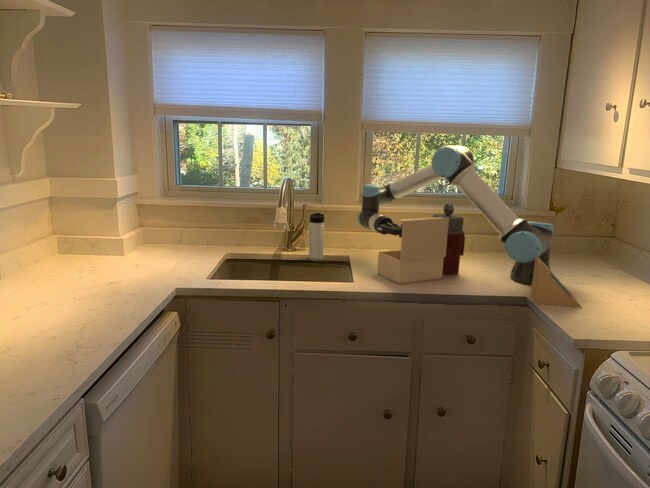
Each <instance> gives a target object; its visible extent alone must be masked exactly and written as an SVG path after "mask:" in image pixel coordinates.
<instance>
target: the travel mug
mask: <svg viewBox="0 0 650 488" xmlns="http://www.w3.org/2000/svg"><path fill="white" fill-rule="evenodd" d="M308 237H309V238H308V239H309V241H308V244H309V245H308V259H309V260H310V261H312V262H321V261H324V247H325V246H324V245H325V244H324V243H325V242H324V241H325V240H324V239H325V215H324V214H323V213H320V212H316V213H311V214H310V215H309V236H308Z"/></svg>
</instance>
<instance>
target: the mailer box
mask: <svg viewBox="0 0 650 488" xmlns="http://www.w3.org/2000/svg"><path fill="white" fill-rule="evenodd" d="M400 255H401V249H397V250H396V249H395V250H386V251H378V258H377V259H378V260H377V273H376V274H377V275H378V276H381V277H382V278H384V279H386V280H389V281H391V282H393V283H394V284H396V285H399V286H400V285H401V286H402V285H408V284H416V283H424V282H432V281H440V280H442V279H443V275H442V272H443V260H444V257H437V258H428V259H418V260H409V261H400Z"/></svg>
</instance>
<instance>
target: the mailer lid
mask: <svg viewBox="0 0 650 488" xmlns="http://www.w3.org/2000/svg"><path fill="white" fill-rule="evenodd" d="M397 221H398V222H401V223H402V224H403V225H402V237H401V242H400V243H401V245H400V250H401V255H400V261H409V260H418V259H428V258H437V257H446V247H447V235H448V224H449V218H442V217H434V218H433V217H423V218H422V217H420V218H405V219H403V218H402V219H398V220H397Z"/></svg>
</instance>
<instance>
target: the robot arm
mask: <svg viewBox="0 0 650 488" xmlns="http://www.w3.org/2000/svg"><path fill="white" fill-rule="evenodd" d="M474 160H475V158H474V154H473V152H472V151H471V149H469V148H468V147H466V146H464V145H449V144H448V145H445V146H442V147H439V148H438V149H436V151H435V152H434V153H433V155H432V158H431V164H430V165H427V166H425V167H422V168H421V169H419V170H417V171H414V172H413V173H411V174H408V175H406V176H404V177H402V178H399V179H397V180H395V181H393V182H391V183H389V184H386V185H385V186H380V184H376V183H375V184H374V183H373V184H372V183H367V184H364V185H363V186H362V187H363V188H362V193H361V194H362V195H361V196H362V197H361V210H360V211H359V212H358V214H357V217H356V221H357V223H358V225H359V226H361V227H363V228H365V229H368V230H371V231H373V232H375V233H376V234H378V233H379V234H381V235H383V236H384V235H392V236H396V237H397V236H398V238H401V239H402V225H403V223H400V224H397V223H396V222H394V221H393V219H392V218H391V217H389V216H386V215H383V214H379V213H380V211H379V210H380V205H385V204H390V203H392V202H395V201H396V200H397V199H400V198H402V197H404V196H407V195H409V194H412V193H413V192H415V191H418V190H420V189H423V188H424V187H427V186H429V185H433V184H434V183H437V182H439V181H441V180H443V179H445V180H446V181H447V182H448V184H449V185H450V186H451V187H458V189H459V190H460V192H462V193H463V194H464V195H465V196H466V197H467V199H468V200H469V201H470V202H471V203H472V204H473V205H474V206H475V208H476V209H477V210H478V211H479V212H480V213H481V214H482V215H483V217H485V219H486V220H487V221H488V222H489V223H490V225H491V226H492V227H493V228H494V229H495V230H496V232H498V233H499V241H500V242H501V243H502V244H503V246H504V247H505V252H506V254H507V255H508V257H509V258H510V259H511V260H513V261H514V262H515V263H514V264H513V267H512V268H511V271H510V273H509V274H510V275H509V277H510V279H512V281H515V282H517V283H520V284H521V283H522V284H526V285H531V286H532V280H533V272H534V264H535V257H536V256H537V257H538V258H539V259H540V260H541V261H542V262H543V263H544V264H545V265H546V266H547V267H548V268H549V269H550V270H551V265H550V260H551V259H550V258H551V251H552V244H553V239H554V238H553V237H554V234H555V232H554V231H555V230H554V225H553V224H552V223H547V222H538V221H537V222H536V221H529V220H527V219H526V218H520V217H518V216H517V214H516V213H515V212H514V211H513V210H512V209H511V208H510V207H509V206H508V205H507V204H506V203H505V202H504V201H503V199H502V198H501V197H500V196H499V195H498V194H497V193H496V192H495V191H494V190H493V189H492V187H490V185H489V184H488V183H487V182H486V181H485V180H484V179H483V178H482V177H481V176H480V174H479V173H478V172H477V171H476V163H474Z"/></svg>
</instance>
